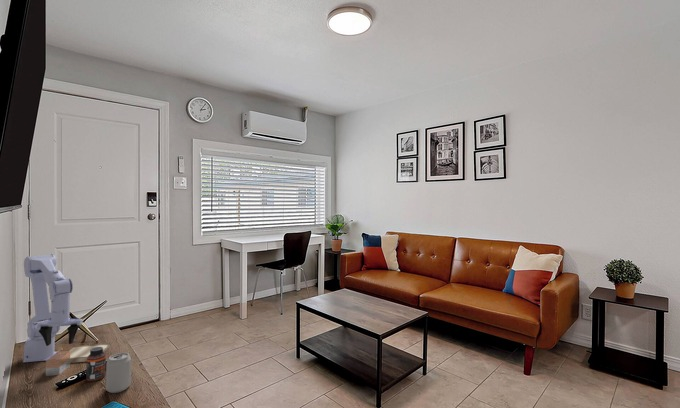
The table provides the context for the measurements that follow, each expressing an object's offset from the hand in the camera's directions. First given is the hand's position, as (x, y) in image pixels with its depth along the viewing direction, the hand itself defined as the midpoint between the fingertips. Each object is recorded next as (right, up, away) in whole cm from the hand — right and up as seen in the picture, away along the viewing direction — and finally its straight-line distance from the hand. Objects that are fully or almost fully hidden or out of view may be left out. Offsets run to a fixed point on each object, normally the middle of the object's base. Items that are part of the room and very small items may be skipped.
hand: (59, 343), depth 136 cm
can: (+32, -11, -13) cm, 36 cm away
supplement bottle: (+19, -11, -6) cm, 22 cm away
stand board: (0, -10, +13) cm, 17 cm away
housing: (0, -11, 0) cm, 11 cm away
